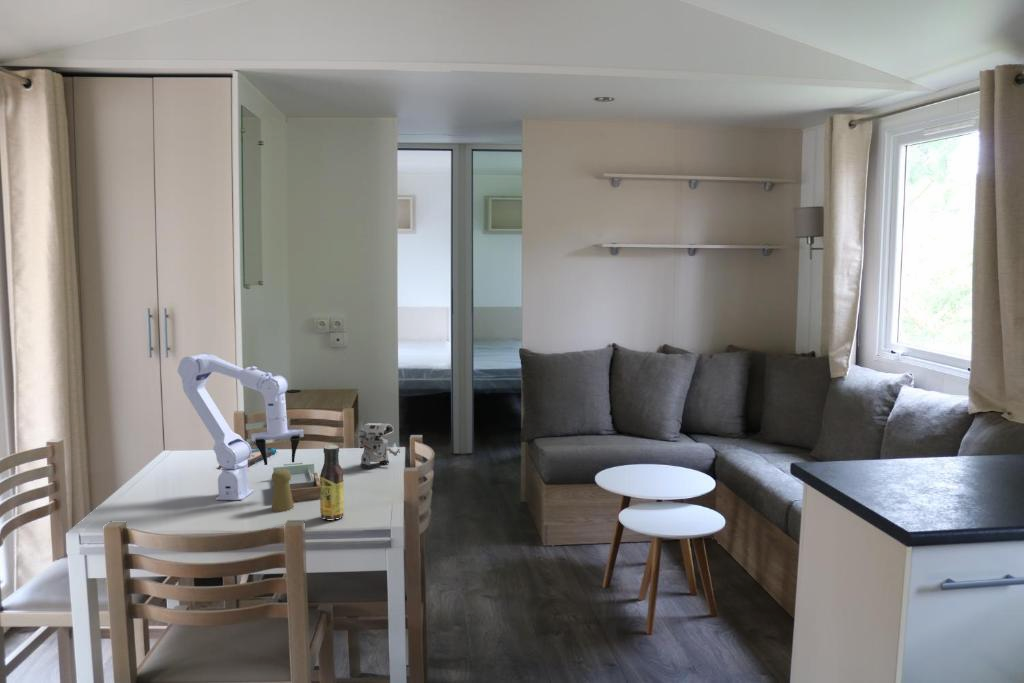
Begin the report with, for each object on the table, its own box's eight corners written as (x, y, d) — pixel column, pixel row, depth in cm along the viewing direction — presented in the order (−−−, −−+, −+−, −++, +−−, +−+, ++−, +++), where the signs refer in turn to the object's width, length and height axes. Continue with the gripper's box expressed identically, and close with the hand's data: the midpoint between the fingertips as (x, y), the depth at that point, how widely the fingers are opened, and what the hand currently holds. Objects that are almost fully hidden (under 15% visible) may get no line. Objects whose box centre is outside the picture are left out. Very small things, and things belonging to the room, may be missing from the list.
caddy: (322, 498, 231) (321, 487, 231) (276, 503, 227) (276, 491, 227) (317, 483, 247) (316, 472, 246) (274, 487, 243) (274, 476, 242)
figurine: (379, 472, 258) (378, 427, 257) (357, 466, 266) (356, 423, 264) (400, 467, 265) (399, 423, 264) (378, 461, 273) (377, 418, 271)
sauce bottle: (316, 517, 214) (313, 446, 212) (337, 512, 218) (335, 442, 216) (327, 523, 209) (325, 450, 207) (348, 518, 213) (346, 446, 211)
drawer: (318, 486, 240) (318, 476, 240) (275, 491, 236) (275, 480, 236) (313, 471, 258) (313, 461, 258) (273, 474, 254) (272, 464, 254)
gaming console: (253, 447, 289) (278, 446, 287) (254, 454, 289) (278, 453, 287) (215, 464, 265) (242, 464, 263) (216, 472, 266) (243, 471, 264)
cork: (275, 513, 219) (274, 474, 217) (268, 507, 223) (266, 469, 222) (297, 509, 222) (295, 470, 221) (289, 503, 227) (287, 466, 226)
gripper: (302, 412, 236) (305, 457, 237) (251, 417, 232) (254, 462, 234) (302, 417, 229) (305, 462, 231) (249, 421, 226) (253, 467, 227)
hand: (279, 462), depth 232 cm, fingers open, 7 cm apart
